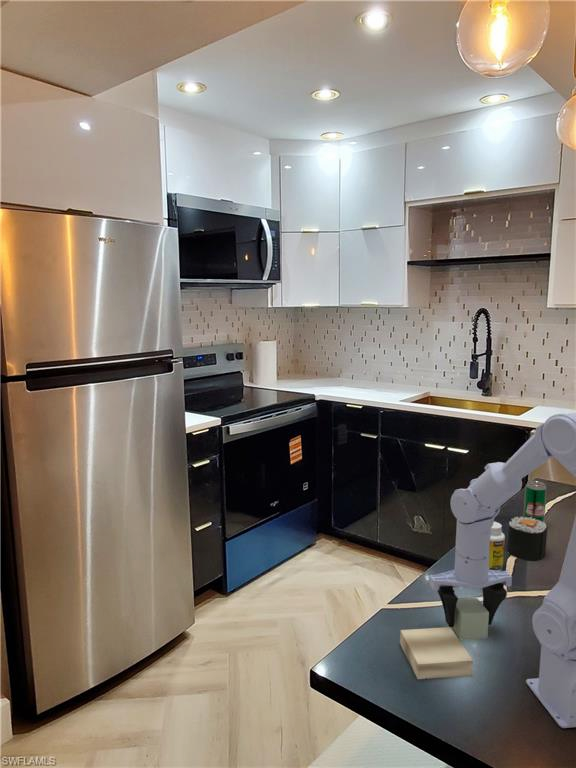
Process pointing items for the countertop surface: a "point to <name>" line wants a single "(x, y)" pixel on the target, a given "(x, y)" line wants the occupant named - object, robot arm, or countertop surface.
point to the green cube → (471, 619)
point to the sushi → (527, 538)
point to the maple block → (435, 653)
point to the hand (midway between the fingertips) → (468, 622)
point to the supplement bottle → (496, 547)
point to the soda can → (535, 500)
